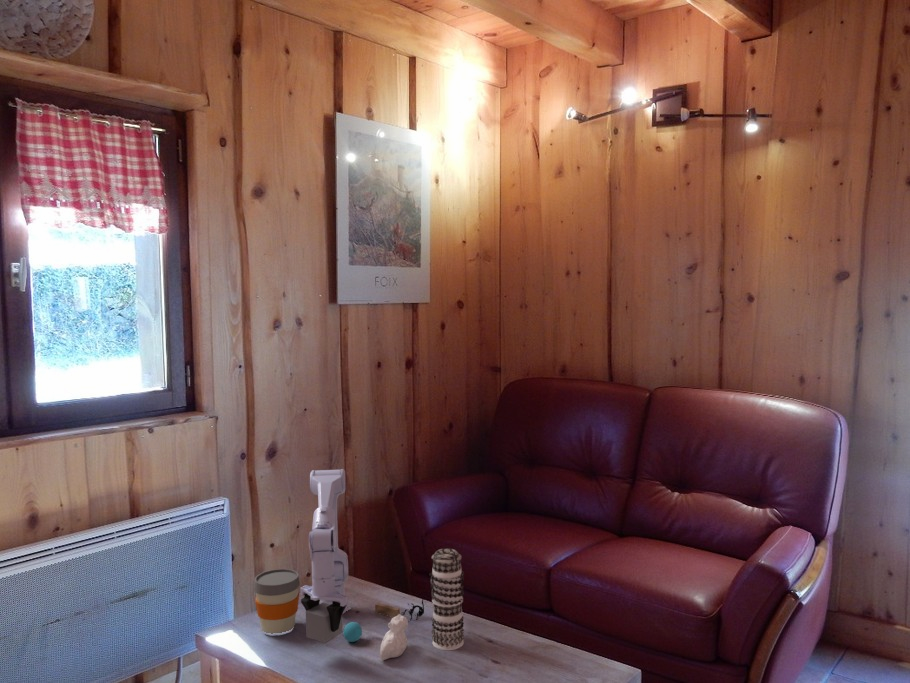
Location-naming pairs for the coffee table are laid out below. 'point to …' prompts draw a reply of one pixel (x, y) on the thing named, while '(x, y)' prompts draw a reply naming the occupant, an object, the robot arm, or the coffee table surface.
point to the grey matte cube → (320, 624)
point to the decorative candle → (447, 599)
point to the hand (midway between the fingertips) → (324, 626)
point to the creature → (421, 612)
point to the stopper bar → (387, 610)
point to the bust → (394, 638)
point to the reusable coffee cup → (277, 599)
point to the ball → (352, 631)
